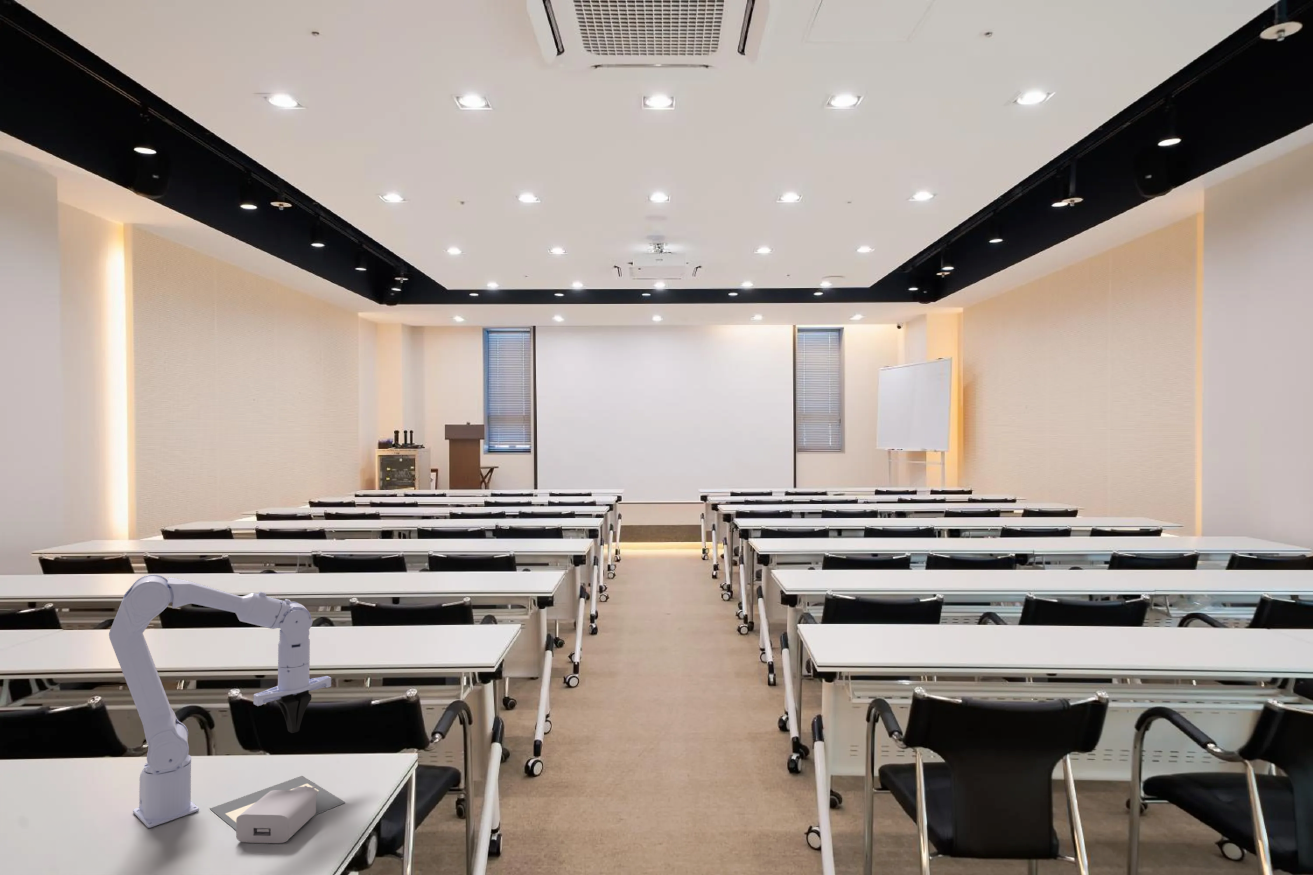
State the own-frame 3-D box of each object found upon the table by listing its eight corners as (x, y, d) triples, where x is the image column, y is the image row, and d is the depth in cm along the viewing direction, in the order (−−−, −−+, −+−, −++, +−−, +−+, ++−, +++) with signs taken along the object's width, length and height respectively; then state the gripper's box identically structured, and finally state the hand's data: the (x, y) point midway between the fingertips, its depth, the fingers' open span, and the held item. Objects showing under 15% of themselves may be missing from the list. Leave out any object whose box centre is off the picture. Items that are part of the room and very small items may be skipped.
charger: (333, 799, 133) (288, 843, 118) (287, 798, 134) (235, 842, 119) (333, 774, 134) (288, 815, 119) (287, 774, 134) (236, 814, 119)
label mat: (209, 808, 130) (209, 807, 130) (302, 775, 144) (302, 775, 144) (249, 841, 119) (249, 840, 119) (345, 802, 133) (345, 801, 133)
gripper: (320, 652, 150) (319, 715, 149) (247, 668, 138) (246, 737, 138) (336, 658, 145) (335, 723, 145) (262, 675, 134) (261, 746, 134)
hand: (293, 730), depth 141 cm, fingers closed
